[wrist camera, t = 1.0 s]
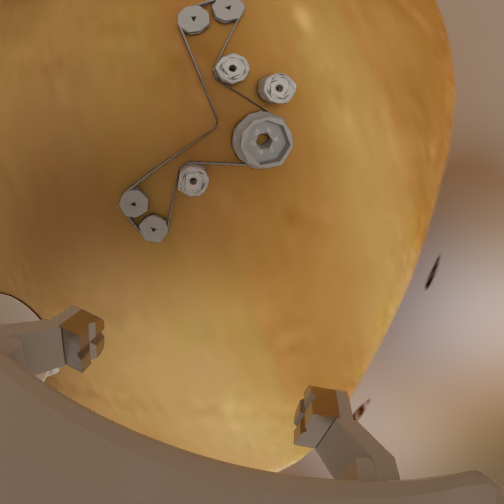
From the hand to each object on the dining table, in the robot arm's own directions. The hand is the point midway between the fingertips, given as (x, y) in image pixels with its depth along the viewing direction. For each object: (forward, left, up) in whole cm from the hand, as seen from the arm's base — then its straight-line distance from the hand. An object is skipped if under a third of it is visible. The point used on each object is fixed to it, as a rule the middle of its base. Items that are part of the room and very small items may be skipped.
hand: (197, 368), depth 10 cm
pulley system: (+6, +5, -23) cm, 25 cm away
